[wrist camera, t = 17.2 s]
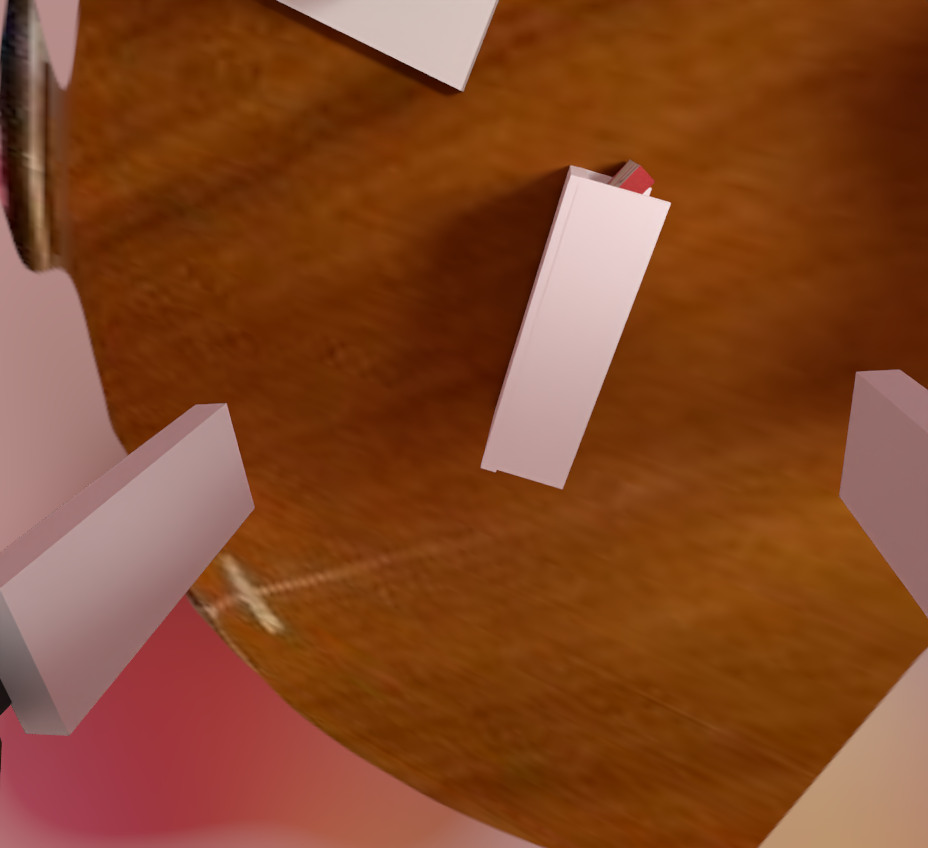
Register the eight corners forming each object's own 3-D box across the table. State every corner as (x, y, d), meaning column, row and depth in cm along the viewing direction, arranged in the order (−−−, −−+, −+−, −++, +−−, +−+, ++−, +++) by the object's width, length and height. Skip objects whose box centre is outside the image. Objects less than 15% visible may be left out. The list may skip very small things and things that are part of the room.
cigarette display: (562, 431, 52) (561, 492, 43) (494, 411, 52) (480, 467, 43) (658, 167, 43) (680, 178, 35) (576, 144, 43) (578, 149, 35)
